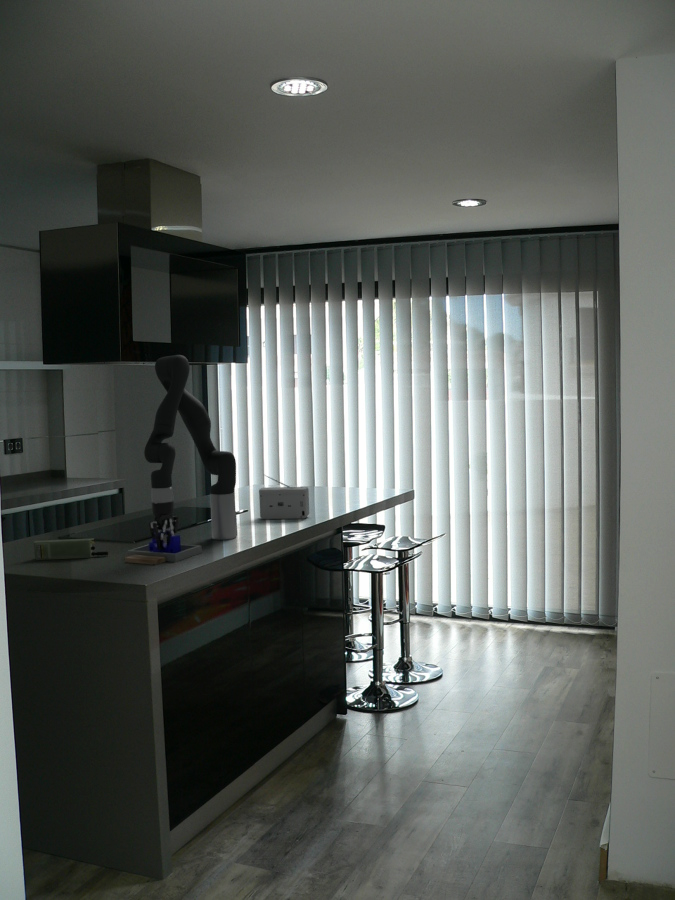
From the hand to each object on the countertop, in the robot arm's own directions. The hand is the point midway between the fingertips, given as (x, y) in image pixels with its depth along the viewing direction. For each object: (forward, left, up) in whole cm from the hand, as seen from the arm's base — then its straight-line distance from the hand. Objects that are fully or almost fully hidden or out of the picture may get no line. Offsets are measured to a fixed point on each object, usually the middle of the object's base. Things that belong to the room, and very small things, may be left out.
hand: (165, 548), depth 297 cm
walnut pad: (+11, 0, -2) cm, 11 cm away
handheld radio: (+13, -30, -3) cm, 33 cm away
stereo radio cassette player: (-79, +3, -3) cm, 79 cm away
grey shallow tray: (0, 0, -2) cm, 2 cm away
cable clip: (0, 0, -1) cm, 1 cm away
